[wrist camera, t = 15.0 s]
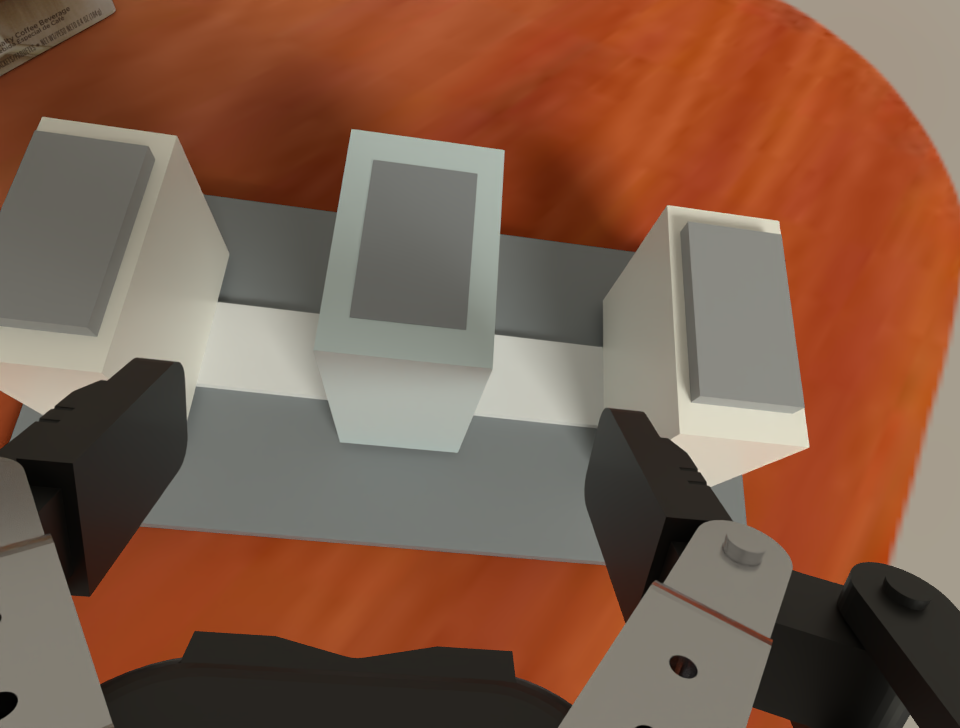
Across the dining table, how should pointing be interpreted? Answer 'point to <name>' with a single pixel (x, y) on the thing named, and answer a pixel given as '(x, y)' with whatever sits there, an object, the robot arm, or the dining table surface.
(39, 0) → the coffee box
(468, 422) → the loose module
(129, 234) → the module
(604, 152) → the dining table surface
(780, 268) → the module
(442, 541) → the mounting board
